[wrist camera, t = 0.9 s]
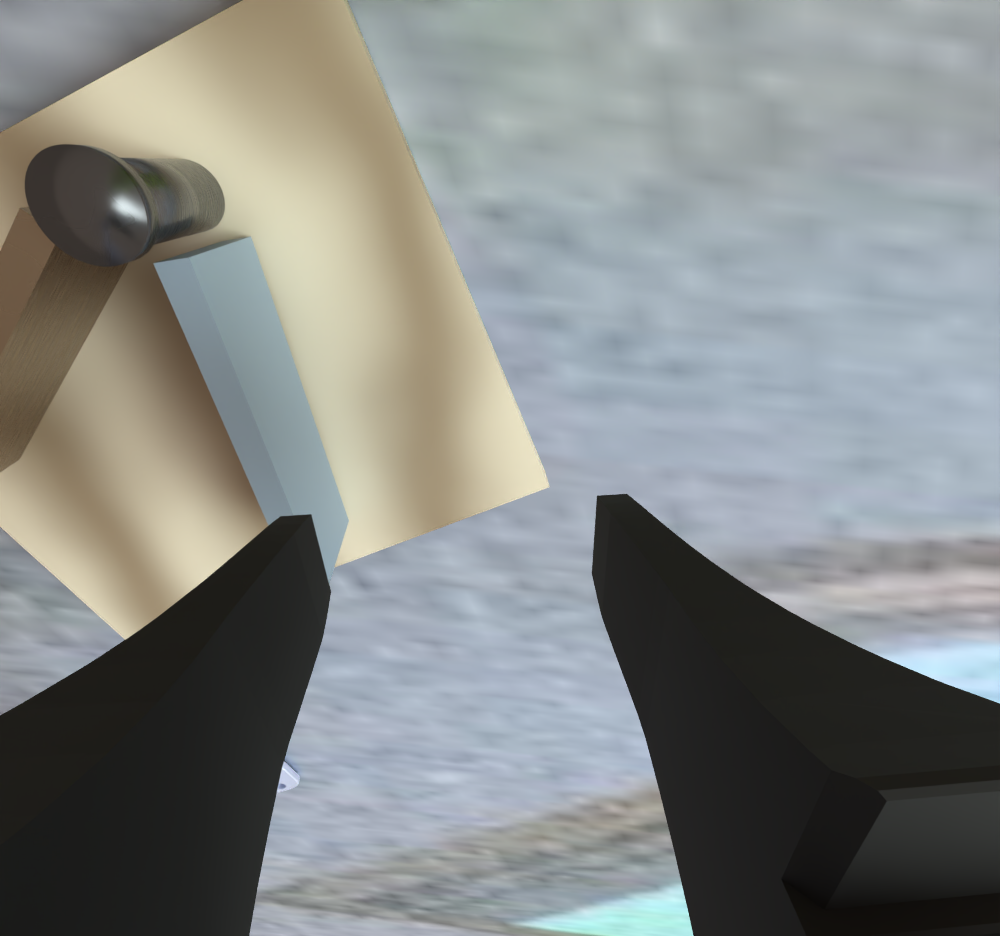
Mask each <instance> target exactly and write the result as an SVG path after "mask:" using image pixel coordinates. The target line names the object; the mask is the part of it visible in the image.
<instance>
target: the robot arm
mask: <svg viewBox="0 0 1000 936" xmlns="http://www.w3.org/2000/svg"><path fill="white" fill-rule="evenodd" d="M592 576H593V581H594V585H595V590H596V594H597V599H598V603H599V607H600V611H601V615H602V618H603V621H604V624H605V627H606V630H607V632H608V635H609V638H610V641H611V643H612V646H613V649H614V652H615V654H616V657H617V660H618V662H619V665H620V668H621V670H622V673H623V676H624V678H625V681H626V684H627V687H628V689H629V692H630V695H631V697H632V700H633V703H634V705H635V708H636V711H637V713H638V716H639V719H640V722H641V726H642V729H643V732H644V735H645V738H646V741H647V745H648V749H649V753H650V757H651V760H652V764H653V768H654V772H655V776H656V779H657V783H658V787H659V791H660V795H661V799H662V803H663V807H664V811H665V815H666V819H667V823H668V827H669V831H670V835H671V839H672V843H673V847H674V852H675V856H676V860H677V865H678V869H679V873H680V878H681V882H682V886H683V891H684V895H685V899H686V904H687V908H688V912H689V917H690V921H691V926H692V930H693V935H694V936H1000V704H999V703H997V702H994V701H991V700H988V699H986V698H983V697H980V696H977V695H975V694H972V693H969V692H966V691H964V690H961V689H958V688H955V687H953V686H950V685H947V684H944V683H942V682H939V681H937V680H934V679H932V678H929V677H927V676H925V675H922V674H920V673H918V672H915V671H913V670H910V669H908V668H906V667H903V666H901V665H899V664H896V663H894V662H891V661H889V660H887V659H884V658H882V657H880V656H878V655H876V654H873V653H871V652H869V651H867V650H865V649H862V648H860V647H858V646H856V645H854V644H852V643H850V642H848V641H846V640H844V639H842V638H840V637H838V636H836V635H834V634H832V633H830V632H828V631H826V630H824V629H822V628H820V627H818V626H816V625H814V624H812V623H810V622H808V621H806V620H804V619H802V618H801V617H799V616H797V615H795V614H793V613H791V612H790V611H788V610H786V609H785V608H783V607H781V606H779V605H778V604H776V603H774V602H773V601H771V600H769V599H768V598H766V597H764V596H763V595H761V594H759V593H757V592H756V591H754V590H753V589H751V588H750V587H748V586H746V585H745V584H743V583H742V582H740V581H739V580H737V579H736V578H734V577H733V576H731V575H730V574H729V573H727V572H726V571H724V570H723V569H721V568H720V567H718V566H717V565H716V564H714V563H713V562H711V561H710V560H709V559H707V558H706V557H704V556H703V555H702V554H700V553H699V552H698V551H696V550H695V549H694V548H693V547H691V546H690V545H689V544H687V543H686V542H685V541H684V540H682V539H681V538H680V537H678V536H677V535H676V534H675V533H673V532H672V531H671V530H670V529H669V528H667V527H666V526H665V525H664V524H662V523H661V522H660V521H659V520H658V519H656V518H655V517H654V516H653V515H652V514H650V513H649V512H648V511H647V510H646V509H645V508H643V507H642V506H641V505H640V504H639V503H637V502H636V501H635V500H634V499H633V498H631V497H630V496H629V495H627V494H618V495H602V496H597V505H596V520H595V535H594V550H593V565H592ZM330 595H331V590H330V586H329V582H328V578H327V574H326V570H325V566H324V562H323V558H322V554H321V550H320V547H319V543H318V539H317V535H316V531H315V527H314V523H313V519H312V515H311V514H307V515H291V516H280V517H279V518H278V519H276V520H275V521H274V522H272V523H271V524H270V525H269V526H267V527H266V528H265V529H264V530H263V531H262V532H260V533H259V534H258V535H257V536H256V537H255V538H253V539H252V540H251V541H250V542H249V543H248V544H246V545H245V546H244V547H243V548H242V549H241V550H240V551H238V552H237V553H236V554H235V555H234V556H233V557H231V558H230V559H229V560H228V561H227V562H225V563H224V564H223V565H222V566H221V567H220V568H218V569H217V570H216V571H215V572H214V573H212V574H211V575H210V576H209V577H208V578H207V579H205V580H204V581H203V582H202V583H200V584H199V585H198V586H197V587H195V588H194V589H193V590H191V591H190V592H189V593H188V594H186V595H185V596H184V597H182V598H181V599H180V600H179V601H177V602H176V603H175V604H173V605H172V606H171V607H170V608H168V609H167V610H166V611H165V612H163V613H162V614H161V615H159V616H158V617H157V618H155V619H154V620H153V621H151V622H150V623H149V624H147V625H146V626H144V627H143V628H142V629H140V630H139V631H137V632H136V633H134V634H133V635H132V636H130V637H129V638H127V639H126V640H124V641H123V642H121V643H120V644H118V645H117V646H115V647H114V648H112V649H111V650H109V651H108V652H106V653H105V654H103V655H102V656H100V657H99V658H97V659H96V660H94V661H92V662H91V663H89V664H88V665H86V666H84V667H83V668H81V669H79V670H78V671H76V672H74V673H73V674H71V675H69V676H68V677H66V678H64V679H62V680H61V681H59V682H57V683H56V684H54V685H52V686H51V687H49V688H47V689H46V690H44V691H42V692H41V693H39V694H37V695H35V696H34V697H32V698H30V699H29V700H27V701H25V702H24V703H22V704H20V705H18V706H17V707H15V708H13V709H11V710H9V711H8V712H6V713H4V714H2V715H0V936H249V933H250V927H251V922H252V916H253V910H254V904H255V899H256V893H257V887H258V882H259V877H260V872H261V867H262V861H263V856H264V851H265V846H266V841H267V836H268V831H269V826H270V821H271V816H272V812H273V807H274V803H275V798H276V793H279V792H282V791H285V790H289V789H292V788H294V787H296V786H297V785H298V784H299V780H300V776H299V775H298V774H297V773H296V772H295V771H294V770H293V769H292V768H291V767H290V766H289V765H288V764H287V763H286V762H284V759H285V756H286V752H287V748H288V745H289V741H290V738H291V735H292V732H293V729H294V726H295V723H296V720H297V717H298V714H299V711H300V708H301V704H302V701H303V698H304V695H305V692H306V689H307V686H308V683H309V680H310V677H311V674H312V671H313V667H314V664H315V661H316V658H317V655H318V652H319V648H320V645H321V642H322V638H323V634H324V629H325V624H326V619H327V613H328V607H329V601H330Z"/></svg>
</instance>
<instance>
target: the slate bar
mask: <svg viewBox="0 0 1000 936" xmlns="http://www.w3.org/2000/svg"><path fill="white" fill-rule="evenodd" d="M153 264H154V266H155V268H156V271H157V273H158V275H159V278H160V280H161V282H162V284H163V287H164V289H165V291H166V293H167V296H168V298H169V300H170V303H171V305H172V307H173V309H174V312H175V314H176V316H177V319H178V321H179V323H180V325H181V328H182V330H183V332H184V334H185V337H186V339H187V341H188V344H189V346H190V348H191V350H192V353H193V355H194V357H195V359H196V362H197V364H198V366H199V369H200V371H201V373H202V375H203V378H204V380H205V382H206V385H207V387H208V389H209V391H210V394H211V396H212V398H213V400H214V403H215V405H216V407H217V410H218V412H219V414H220V416H221V419H222V421H223V423H224V425H225V428H226V430H227V432H228V435H229V437H230V439H231V441H232V444H233V446H234V448H235V451H236V453H237V455H238V457H239V460H240V462H241V464H242V466H243V469H244V471H245V473H246V476H247V478H248V480H249V482H250V485H251V487H252V489H253V491H254V494H255V496H256V498H257V501H258V503H259V505H260V507H261V510H262V512H263V514H264V517H265V519H266V521H267V523H268V526H269V525H270V524H271V523H272V522H274V521H275V520H276V519H278V518H279V517H280V516H291V515H307V514H311V515H312V519H313V523H314V527H315V531H316V535H317V539H318V543H319V547H320V550H321V554H322V558H323V562H324V566H325V570H326V574H327V578H328V582H329V583H330V580H331V577H332V573H333V570H334V567H335V564H336V561H337V557H338V554H339V551H340V548H341V545H342V541H343V538H344V535H345V532H346V529H347V525H348V522H349V519H348V517H347V514H346V511H345V508H344V505H343V502H342V499H341V496H340V493H339V490H338V487H337V485H336V482H335V479H334V476H333V473H332V470H331V467H330V464H329V461H328V458H327V456H326V453H325V450H324V447H323V444H322V441H321V438H320V435H319V432H318V429H317V427H316V424H315V421H314V418H313V415H312V412H311V409H310V406H309V403H308V400H307V398H306V395H305V392H304V389H303V386H302V383H301V380H300V377H299V374H298V371H297V368H296V366H295V363H294V360H293V357H292V354H291V351H290V348H289V345H288V342H287V339H286V337H285V334H284V331H283V328H282V325H281V322H280V319H279V316H278V313H277V310H276V308H275V305H274V302H273V299H272V296H271V293H270V290H269V287H268V284H267V281H266V278H265V276H264V273H263V270H262V267H261V264H260V261H259V258H258V255H257V252H256V249H255V247H254V244H253V241H252V238H251V237H244V238H238V239H232V240H226V241H221V242H218V243H215V244H212V245H209V246H206V247H203V248H199V249H196V250H193V251H190V252H187V253H184V254H181V255H177V256H174V257H171V258H168V259H165V260H162V261H159V262H156V263H153Z"/></svg>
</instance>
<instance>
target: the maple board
mask: <svg viewBox="0 0 1000 936" xmlns="http://www.w3.org/2000/svg"><path fill="white" fill-rule="evenodd" d="M60 144H73V145H88V146H94V147H98V148H101V149H104V150H106V151H108V152H111V153H112V154H114V155H116V156H118V157H119V158H161V159H187V160H191V161H194V162H196V163H198V164H200V165H202V166H203V167H205V168H206V169H207V170H208V171H209V172H210V173H211V174H212V175H213V176H214V177H215V178H216V180H217V181H218V183H219V185H220V187H221V189H222V192H223V195H224V199H225V211H224V215H223V217H222V219H221V221H220V223H219V224H218V225H217V226H216V227H214V228H213V229H211V230H209V231H205V232H201V233H197V234H194V235H190V236H186V237H182V238H178V239H174V240H170V241H167V242H163V243H159V244H155V245H153V247H152V248H151V250H150V251H149V252H148V253H147V254H146V255H144V256H143V257H141V258H139V259H137V260H135V261H131V262H129V263H128V265H127V267H126V268H125V270H124V272H123V274H122V276H121V277H120V279H119V281H118V283H117V285H116V286H115V288H114V290H113V292H112V294H111V296H110V297H109V299H108V301H107V303H106V305H105V306H104V308H103V310H102V312H101V314H100V315H99V317H98V319H97V321H96V323H95V324H94V326H93V328H92V330H91V332H90V333H89V335H88V337H87V339H86V341H85V342H84V344H83V346H82V348H81V350H80V351H79V353H78V355H77V357H76V359H75V360H74V362H73V364H72V366H71V368H70V369H69V371H68V373H67V375H66V377H65V379H64V380H63V382H62V384H61V386H60V388H59V389H58V391H57V393H56V395H55V397H54V398H53V400H52V402H51V404H50V406H49V407H48V409H47V411H46V413H45V415H44V416H43V418H42V420H41V422H40V424H39V425H38V427H37V429H36V431H35V433H34V434H33V436H32V438H31V440H30V442H29V443H28V445H27V447H26V449H25V451H24V452H23V454H22V456H21V458H20V460H18V461H17V462H15V463H14V464H12V465H11V466H9V467H8V468H6V469H5V470H3V471H2V472H0V527H1V528H2V529H3V530H4V531H6V532H7V533H8V534H9V535H10V536H11V537H12V538H13V539H14V540H15V541H17V542H18V543H19V544H20V545H21V546H22V547H23V548H24V549H25V550H27V551H28V552H29V553H30V554H31V555H32V556H33V557H34V558H35V559H36V560H38V561H39V562H40V563H41V564H42V565H43V566H44V567H45V568H46V569H48V570H49V571H50V572H51V573H52V574H53V575H54V576H55V577H56V578H57V579H59V580H60V581H61V582H62V583H63V584H64V585H65V586H66V587H67V588H69V589H70V590H71V591H72V592H73V593H74V594H75V595H76V596H77V597H78V598H80V599H81V600H82V601H83V602H84V603H85V604H86V605H87V606H88V607H90V608H91V609H92V610H93V611H94V612H95V613H96V614H97V615H98V616H99V617H101V618H102V619H103V620H104V621H105V622H106V623H107V624H108V625H109V626H110V627H112V628H113V629H114V630H115V631H116V632H117V633H118V634H119V635H120V636H122V637H123V638H124V639H125V640H126V639H127V638H129V637H130V636H132V635H133V634H134V633H136V632H137V631H139V630H140V629H142V628H143V627H144V626H146V625H147V624H149V623H150V622H151V621H153V620H154V619H155V618H157V617H158V616H159V615H161V614H162V613H163V612H165V611H166V610H167V609H168V608H170V607H171V606H172V605H173V604H175V603H176V602H177V601H179V600H180V599H181V598H182V597H184V596H185V595H186V594H188V593H189V592H190V591H191V590H193V589H194V588H195V587H197V586H198V585H199V584H200V583H202V582H203V581H204V580H205V579H207V578H208V577H209V576H210V575H211V574H212V573H214V572H215V571H216V570H217V569H218V568H220V567H221V566H222V565H223V564H224V563H225V562H227V561H228V560H229V559H230V558H231V557H233V556H234V555H235V554H236V553H237V552H238V551H240V550H241V549H242V548H243V547H244V546H245V545H246V544H248V543H249V542H250V541H251V540H252V539H253V538H255V537H256V536H257V535H258V534H259V533H260V532H262V531H263V530H264V529H265V528H266V527H267V526H268V523H267V521H266V519H265V517H264V514H263V512H262V510H261V507H260V505H259V503H258V501H257V498H256V496H255V494H254V491H253V489H252V487H251V485H250V482H249V480H248V478H247V476H246V473H245V471H244V469H243V466H242V464H241V462H240V460H239V457H238V455H237V453H236V451H235V448H234V446H233V444H232V441H231V439H230V437H229V435H228V432H227V430H226V428H225V425H224V423H223V421H222V419H221V416H220V414H219V412H218V410H217V407H216V405H215V403H214V400H213V398H212V396H211V394H210V391H209V389H208V387H207V385H206V382H205V380H204V378H203V375H202V373H201V371H200V369H199V366H198V364H197V362H196V359H195V357H194V355H193V353H192V350H191V348H190V346H189V344H188V341H187V339H186V337H185V334H184V332H183V330H182V328H181V325H180V323H179V321H178V319H177V316H176V314H175V312H174V309H173V307H172V305H171V303H170V300H169V298H168V296H167V293H166V291H165V289H164V287H163V284H162V282H161V280H160V278H159V275H158V273H157V271H156V268H155V266H154V264H153V263H156V262H159V261H162V260H165V259H168V258H171V257H174V256H177V255H181V254H184V253H187V252H190V251H193V250H196V249H199V248H203V247H206V246H209V245H212V244H215V243H218V242H221V241H226V240H232V239H238V238H244V237H251V238H252V241H253V244H254V247H255V249H256V252H257V255H258V258H259V261H260V264H261V267H262V270H263V273H264V276H265V278H266V281H267V284H268V287H269V290H270V293H271V296H272V299H273V302H274V305H275V308H276V310H277V313H278V316H279V319H280V322H281V325H282V328H283V331H284V334H285V337H286V339H287V342H288V345H289V348H290V351H291V354H292V357H293V360H294V363H295V366H296V368H297V371H298V374H299V377H300V380H301V383H302V386H303V389H304V392H305V395H306V398H307V400H308V403H309V406H310V409H311V412H312V415H313V418H314V421H315V424H316V427H317V429H318V432H319V435H320V438H321V441H322V444H323V447H324V450H325V453H326V456H327V458H328V461H329V464H330V467H331V470H332V473H333V476H334V479H335V482H336V485H337V487H338V490H339V493H340V496H341V499H342V502H343V505H344V508H345V511H346V514H347V517H348V519H349V522H348V525H347V529H346V532H345V535H344V538H343V541H342V545H341V548H340V551H339V554H338V557H337V561H336V564H335V567H337V566H339V565H342V564H345V563H347V562H350V561H353V560H355V559H358V558H361V557H363V556H366V555H369V554H371V553H374V552H377V551H380V550H382V549H385V548H388V547H390V546H393V545H396V544H398V543H401V542H404V541H406V540H409V539H412V538H414V537H417V536H420V535H422V534H425V533H428V532H430V531H433V530H436V529H438V528H441V527H444V526H446V525H449V524H452V523H455V522H457V521H460V520H463V519H465V518H468V517H471V516H473V515H476V514H479V513H481V512H484V511H487V510H489V509H492V508H495V507H497V506H500V505H503V504H505V503H508V502H511V501H513V500H516V499H519V498H521V497H524V496H527V495H529V494H532V493H535V492H538V491H540V490H543V489H546V488H548V487H549V484H548V480H547V476H546V473H545V470H544V467H543V465H542V463H541V460H540V458H539V456H538V453H537V451H536V448H535V446H534V444H533V441H532V439H531V437H530V434H529V432H528V429H527V427H526V425H525V422H524V420H523V417H522V415H521V413H520V410H519V408H518V406H517V403H516V401H515V398H514V396H513V394H512V391H511V389H510V387H509V384H508V382H507V379H506V377H505V375H504V372H503V370H502V368H501V365H500V363H499V360H498V358H497V356H496V353H495V351H494V348H493V346H492V344H491V341H490V339H489V337H488V334H487V332H486V329H485V327H484V325H483V322H482V320H481V318H480V315H479V313H478V310H477V308H476V306H475V303H474V301H473V299H472V296H471V294H470V291H469V289H468V287H467V284H466V282H465V279H464V277H463V275H462V272H461V270H460V268H459V265H458V263H457V260H456V258H455V256H454V253H453V251H452V249H451V246H450V244H449V241H448V239H447V237H446V234H445V232H444V229H443V227H442V225H441V222H440V220H439V218H438V215H437V213H436V210H435V208H434V206H433V203H432V201H431V199H430V196H429V194H428V191H427V189H426V187H425V184H424V182H423V180H422V177H421V175H420V172H419V170H418V168H417V165H416V163H415V160H414V158H413V156H412V153H411V151H410V149H409V146H408V144H407V141H406V139H405V137H404V134H403V132H402V130H401V127H400V125H399V122H398V120H397V118H396V115H395V113H394V110H393V108H392V106H391V103H390V101H389V99H388V96H387V94H386V91H385V89H384V87H383V84H382V82H381V80H380V77H379V75H378V72H377V70H376V68H375V65H374V63H373V61H372V58H371V56H370V53H369V51H368V49H367V46H366V44H365V41H364V39H363V37H362V34H361V32H360V30H359V27H358V25H357V22H356V20H355V18H354V15H353V13H352V11H351V8H350V6H349V3H348V1H347V0H242V1H240V2H239V3H237V4H235V5H233V6H231V7H229V8H228V9H226V10H224V11H222V12H220V13H218V14H217V15H215V16H213V17H211V18H209V19H207V20H206V21H204V22H202V23H200V24H198V25H196V26H195V27H193V28H191V29H189V30H187V31H185V32H184V33H182V34H180V35H178V36H176V37H174V38H173V39H171V40H169V41H167V42H165V43H163V44H162V45H160V46H158V47H156V48H154V49H152V50H151V51H149V52H147V53H145V54H143V55H142V56H140V57H138V58H136V59H134V60H132V61H131V62H129V63H127V64H125V65H123V66H121V67H120V68H118V69H116V70H114V71H112V72H110V73H109V74H107V75H105V76H103V77H101V78H99V79H98V80H96V81H94V82H92V83H90V84H88V85H87V86H85V87H83V88H81V89H79V90H77V91H76V92H74V93H72V94H70V95H68V96H66V97H65V98H63V99H61V100H59V101H57V102H55V103H54V104H52V105H50V106H48V107H46V108H44V109H43V110H41V111H39V112H37V113H35V114H33V115H32V116H30V117H28V118H26V119H24V120H22V121H21V122H19V123H17V124H15V125H13V126H12V127H10V128H8V129H6V130H4V131H2V132H1V133H0V251H1V248H2V246H3V244H4V242H5V239H6V237H7V235H8V233H9V231H10V228H11V226H12V224H13V222H14V219H15V217H16V215H17V213H18V211H19V208H22V207H29V206H28V203H27V199H26V195H25V175H26V171H27V168H28V166H29V164H30V162H31V160H32V159H33V158H34V157H35V155H36V154H38V153H39V152H40V151H42V150H43V149H45V148H47V147H50V146H53V145H60Z"/></svg>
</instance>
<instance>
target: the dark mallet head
mask: <svg viewBox="0 0 1000 936" xmlns="http://www.w3.org/2000/svg"><path fill="white" fill-rule="evenodd" d="M25 195H26V199H27V203H28V206H29V207H22V208H19V211H18V213H17V215H16V217H15V219H14V222H13V224H12V226H11V228H10V231H9V233H8V235H7V237H6V239H5V242H4V244H3V246H2V248H1V251H0V472H2V471H3V470H5V469H6V468H8V467H9V466H11V465H12V464H14V463H15V462H17V461H18V460H20V458H21V456H22V454H23V452H24V451H25V449H26V447H27V445H28V443H29V442H30V440H31V438H32V436H33V434H34V433H35V431H36V429H37V427H38V425H39V424H40V422H41V420H42V418H43V416H44V415H45V413H46V411H47V409H48V407H49V406H50V404H51V402H52V400H53V398H54V397H55V395H56V393H57V391H58V389H59V388H60V386H61V384H62V382H63V380H64V379H65V377H66V375H67V373H68V371H69V369H70V368H71V366H72V364H73V362H74V360H75V359H76V357H77V355H78V353H79V351H80V350H81V348H82V346H83V344H84V342H85V341H86V339H87V337H88V335H89V333H90V332H91V330H92V328H93V326H94V324H95V323H96V321H97V319H98V317H99V315H100V314H101V312H102V310H103V308H104V306H105V305H106V303H107V301H108V299H109V297H110V296H111V294H112V292H113V290H114V288H115V286H116V285H117V283H118V281H119V279H120V277H121V276H122V274H123V272H124V270H125V268H126V267H127V265H128V263H129V262H131V261H135V260H137V259H139V258H141V257H143V256H144V255H146V254H147V253H148V252H149V251H150V250H151V248H152V247H153V245H155V244H159V243H163V242H167V241H170V240H174V239H178V238H182V237H186V236H190V235H194V234H197V233H201V232H205V231H209V230H211V229H213V228H214V227H216V226H217V225H218V224H219V223H220V221H221V219H222V217H223V215H224V211H225V199H224V195H223V192H222V189H221V187H220V185H219V183H218V181H217V180H216V178H215V177H214V176H213V175H212V174H211V173H210V172H209V171H208V170H207V169H206V168H205V167H203V166H202V165H200V164H198V163H196V162H194V161H191V160H187V159H161V158H119V157H118V156H116V155H114V154H112V153H111V152H108V151H106V150H104V149H101V148H98V147H94V146H88V145H73V144H60V145H53V146H50V147H47V148H45V149H43V150H42V151H40V152H39V153H38V154H36V155H35V157H34V158H33V159H32V160H31V162H30V164H29V166H28V168H27V171H26V175H25Z"/></svg>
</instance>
